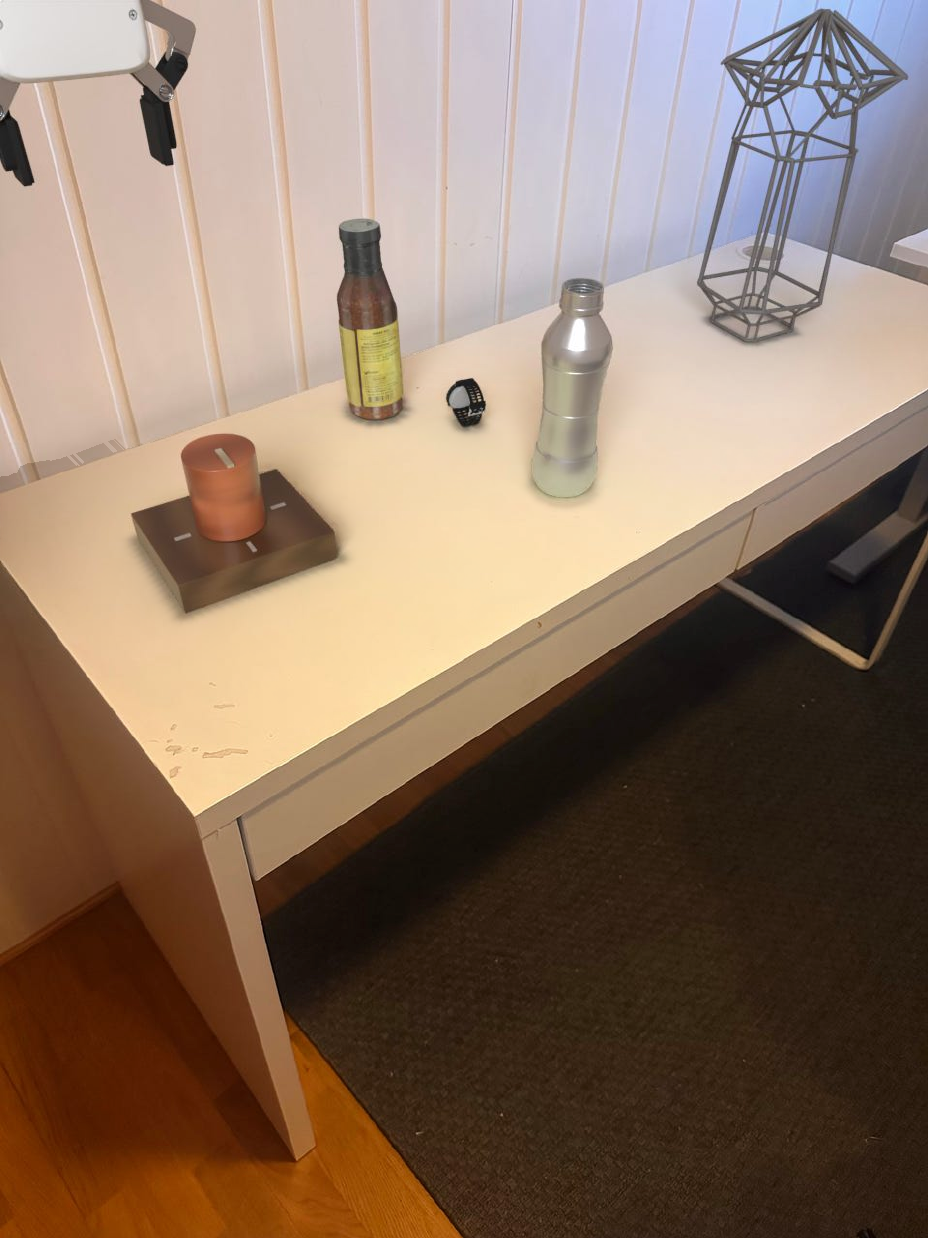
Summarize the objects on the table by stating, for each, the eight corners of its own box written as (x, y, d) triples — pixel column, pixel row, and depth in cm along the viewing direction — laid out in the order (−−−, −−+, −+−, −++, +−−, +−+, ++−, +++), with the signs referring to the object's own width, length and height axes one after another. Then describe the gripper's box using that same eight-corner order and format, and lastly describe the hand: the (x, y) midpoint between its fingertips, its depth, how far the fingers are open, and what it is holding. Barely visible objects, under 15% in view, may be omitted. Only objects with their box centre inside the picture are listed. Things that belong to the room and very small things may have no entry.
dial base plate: (185, 613, 74) (177, 584, 71) (138, 540, 81) (130, 511, 79) (337, 558, 79) (334, 529, 77) (280, 494, 87) (276, 466, 85)
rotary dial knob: (186, 514, 79) (169, 441, 74) (250, 495, 81) (238, 423, 76) (210, 549, 75) (194, 475, 70) (277, 528, 78) (266, 454, 73)
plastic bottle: (520, 497, 87) (533, 293, 74) (542, 463, 92) (558, 266, 79) (583, 512, 85) (609, 306, 72) (602, 476, 90) (630, 278, 77)
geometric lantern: (669, 313, 121) (721, 2, 98) (761, 295, 127) (832, -4, 103) (742, 360, 111) (820, 24, 88) (840, 338, 116) (938, 16, 93)
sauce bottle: (413, 403, 101) (408, 219, 88) (387, 427, 97) (378, 238, 84) (362, 391, 103) (350, 210, 90) (335, 415, 99) (318, 228, 86)
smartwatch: (482, 412, 100) (483, 371, 96) (485, 436, 96) (487, 393, 93) (445, 413, 100) (445, 371, 96) (447, 436, 96) (447, 394, 92)
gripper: (145, -150, 58) (194, 142, 69) (-157, -152, 50) (-47, 175, 62) (186, -147, 53) (232, 166, 64) (-139, -149, 46) (-24, 204, 57)
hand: (95, 170), depth 63 cm, fingers open, 9 cm apart
